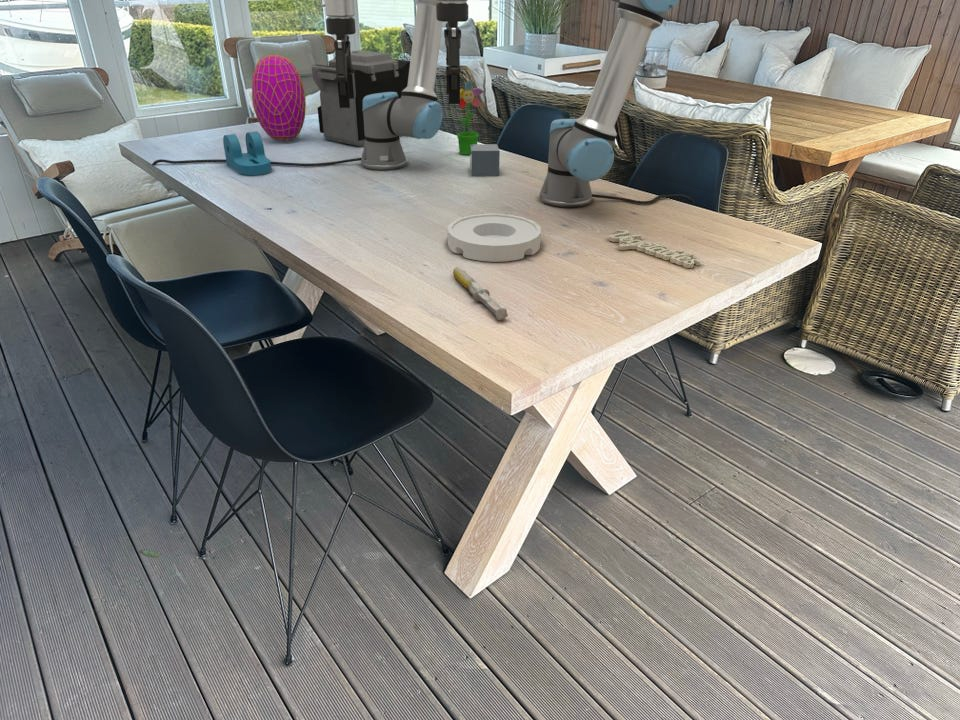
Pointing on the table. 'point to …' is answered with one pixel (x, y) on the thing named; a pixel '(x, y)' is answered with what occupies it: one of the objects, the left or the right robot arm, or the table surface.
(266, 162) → the camera mount
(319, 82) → the electronic device
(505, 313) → the syringe
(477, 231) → the ashtray
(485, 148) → the block
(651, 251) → the decorative sign
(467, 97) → the potted flower
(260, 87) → the decorative egg
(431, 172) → the table surface
